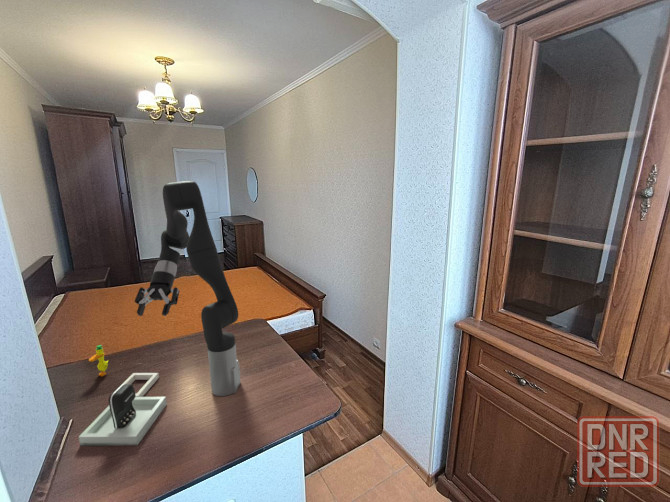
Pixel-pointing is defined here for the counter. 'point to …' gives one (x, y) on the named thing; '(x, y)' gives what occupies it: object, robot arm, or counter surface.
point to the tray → (131, 434)
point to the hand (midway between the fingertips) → (151, 315)
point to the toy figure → (100, 360)
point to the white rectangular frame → (143, 376)
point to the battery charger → (122, 405)
